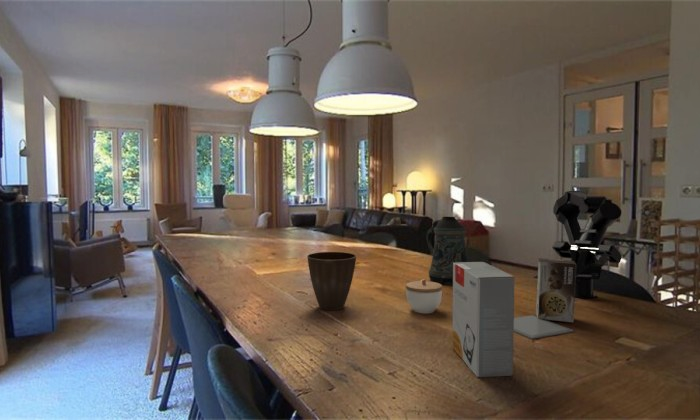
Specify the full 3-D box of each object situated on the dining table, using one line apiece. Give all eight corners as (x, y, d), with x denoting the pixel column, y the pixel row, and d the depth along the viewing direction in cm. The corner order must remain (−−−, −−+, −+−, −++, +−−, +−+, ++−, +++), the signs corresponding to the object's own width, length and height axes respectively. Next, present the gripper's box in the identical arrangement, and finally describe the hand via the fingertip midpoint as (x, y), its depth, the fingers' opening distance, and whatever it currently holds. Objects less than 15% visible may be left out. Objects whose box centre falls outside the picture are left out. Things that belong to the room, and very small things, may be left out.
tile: (531, 316, 123) (531, 314, 123) (574, 331, 110) (574, 330, 110) (492, 322, 118) (492, 320, 118) (531, 339, 105) (531, 337, 105)
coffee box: (570, 317, 122) (573, 260, 122) (573, 323, 116) (577, 263, 116) (535, 313, 125) (538, 257, 125) (537, 318, 119) (540, 260, 119)
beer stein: (465, 287, 158) (466, 219, 157) (415, 282, 168) (415, 217, 167) (476, 279, 173) (477, 216, 171) (429, 274, 182) (429, 215, 181)
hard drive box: (451, 348, 99) (451, 261, 98) (483, 347, 100) (484, 261, 99) (476, 378, 84) (477, 276, 83) (514, 376, 84) (516, 275, 83)
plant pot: (363, 303, 137) (363, 253, 136) (343, 316, 124) (343, 261, 123) (322, 298, 143) (322, 250, 142) (298, 310, 130) (297, 257, 129)
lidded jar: (419, 303, 137) (420, 274, 137) (449, 310, 129) (449, 279, 129) (398, 310, 130) (398, 279, 129) (428, 318, 122) (428, 285, 121)
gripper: (638, 249, 128) (619, 294, 123) (578, 245, 144) (560, 285, 140) (620, 227, 124) (601, 273, 119) (561, 225, 140) (541, 265, 135)
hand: (574, 275), depth 128 cm, fingers closed
